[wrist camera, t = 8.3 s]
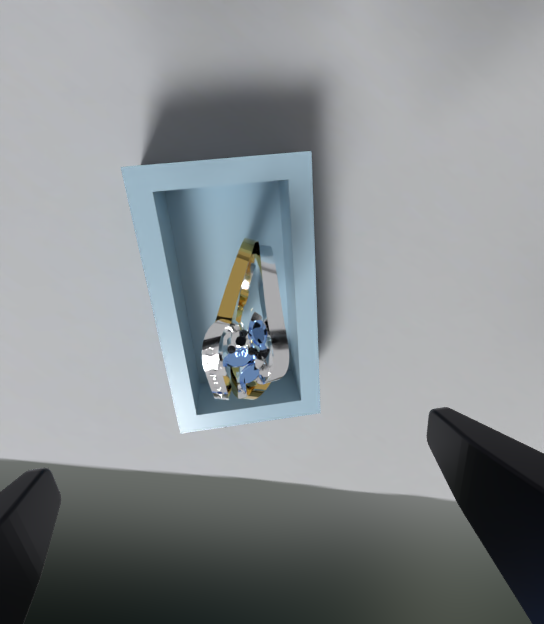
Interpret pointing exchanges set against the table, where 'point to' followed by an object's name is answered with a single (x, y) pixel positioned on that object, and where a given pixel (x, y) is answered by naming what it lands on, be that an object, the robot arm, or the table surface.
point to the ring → (237, 339)
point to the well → (227, 272)
